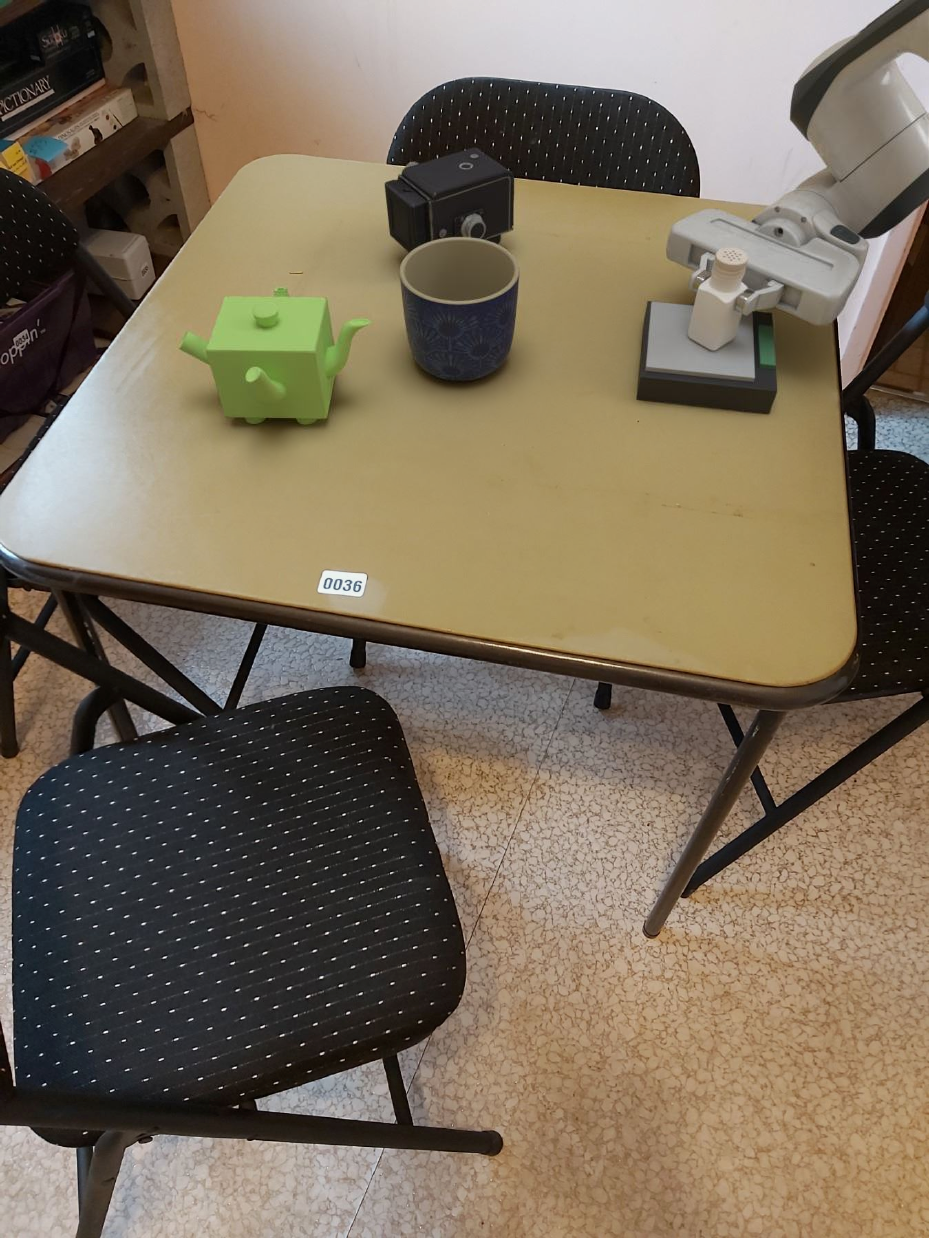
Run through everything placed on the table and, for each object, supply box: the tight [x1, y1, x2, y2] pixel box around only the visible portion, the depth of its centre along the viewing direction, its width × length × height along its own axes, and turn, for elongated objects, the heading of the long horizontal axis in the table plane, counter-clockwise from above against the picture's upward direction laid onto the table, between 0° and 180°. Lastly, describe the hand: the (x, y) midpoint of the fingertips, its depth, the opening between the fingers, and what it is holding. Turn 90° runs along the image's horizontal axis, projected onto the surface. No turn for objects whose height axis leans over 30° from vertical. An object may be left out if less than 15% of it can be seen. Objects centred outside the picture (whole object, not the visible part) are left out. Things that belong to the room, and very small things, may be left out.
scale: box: [636, 300, 778, 415], centre depth 92 cm, size 14×14×4 cm
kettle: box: [178, 286, 372, 425], centre depth 86 cm, size 15×14×11 cm
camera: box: [384, 147, 515, 254], centre depth 103 cm, size 11×11×15 cm
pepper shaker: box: [688, 248, 748, 350], centre depth 87 cm, size 4×4×10 cm
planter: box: [398, 237, 521, 382], centre depth 90 cm, size 12×12×11 cm
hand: (717, 296), depth 86 cm, fingers closed on pepper shaker, 4 cm apart
